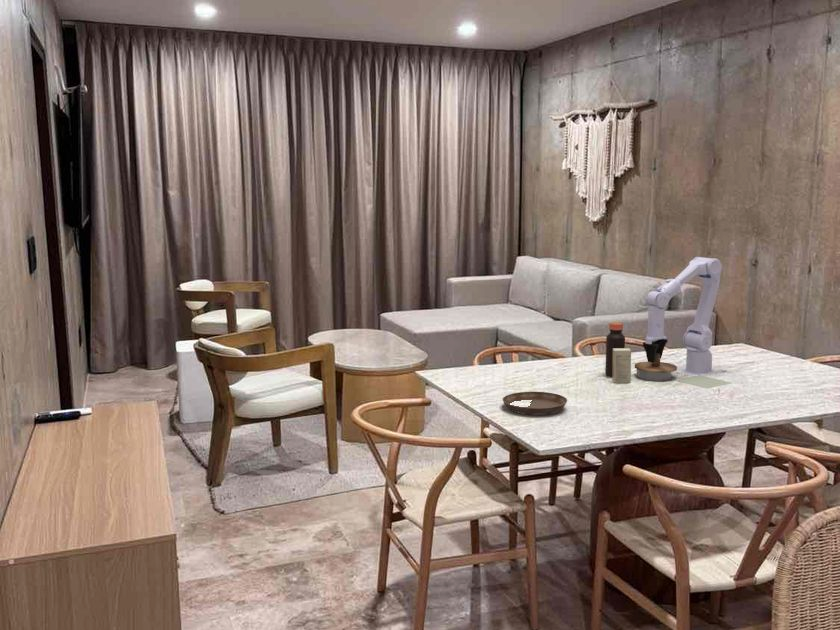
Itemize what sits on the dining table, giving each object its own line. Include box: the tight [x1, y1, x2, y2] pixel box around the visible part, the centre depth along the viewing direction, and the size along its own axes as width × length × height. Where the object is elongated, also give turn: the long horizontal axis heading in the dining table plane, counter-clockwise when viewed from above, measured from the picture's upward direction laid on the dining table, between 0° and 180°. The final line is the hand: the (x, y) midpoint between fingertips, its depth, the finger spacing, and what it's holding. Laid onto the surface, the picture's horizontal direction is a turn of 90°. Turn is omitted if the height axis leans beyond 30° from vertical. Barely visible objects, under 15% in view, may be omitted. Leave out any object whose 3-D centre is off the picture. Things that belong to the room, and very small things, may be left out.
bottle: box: [604, 322, 626, 378], centre depth 294 cm, size 7×7×20 cm
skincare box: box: [611, 347, 632, 384], centre depth 285 cm, size 6×4×12 cm
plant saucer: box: [502, 391, 568, 416], centre depth 252 cm, size 21×21×3 cm
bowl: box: [635, 369, 672, 382], centre depth 291 cm, size 12×12×4 cm
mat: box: [674, 374, 732, 389], centre depth 283 cm, size 14×14×1 cm
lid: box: [634, 353, 678, 373], centre depth 290 cm, size 15×15×5 cm
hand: (654, 360), depth 290 cm, fingers open, 7 cm apart
